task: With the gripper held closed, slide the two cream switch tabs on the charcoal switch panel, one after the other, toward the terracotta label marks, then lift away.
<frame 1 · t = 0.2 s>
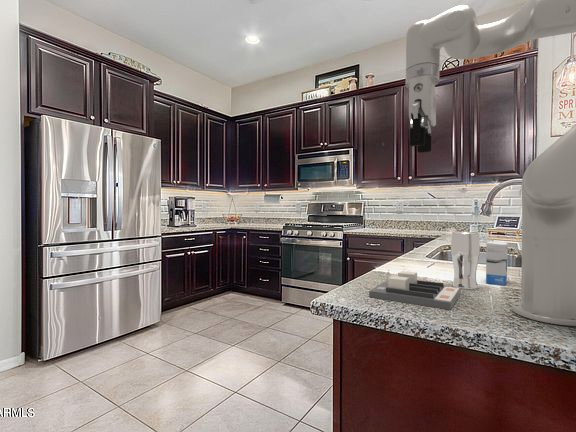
hand: (420, 148, 77), 36 cm above the counter, tool pointing down, fingers open, 9 cm apart
tab b: (407, 278, 85), point 3 cm above the counter, slide at 6.0 cm
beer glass: (464, 287, 88), on the counter
switch panel: (415, 295, 80), on the counter
tab a: (398, 284, 78), point 3 cm above the counter, slide at 6.0 cm
ink box: (496, 282, 94), on the counter
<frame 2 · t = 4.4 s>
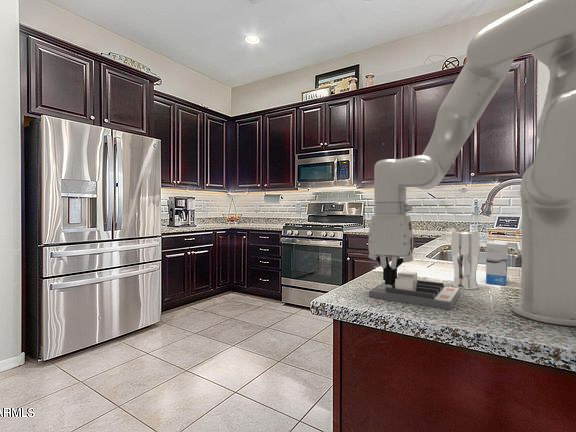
hand: (390, 283, 79), 3 cm above the counter, tool pointing down, fingers closed
tab a: (405, 284, 77), point 3 cm above the counter, slide at 4.3 cm, touching gripper
everything else where it was.
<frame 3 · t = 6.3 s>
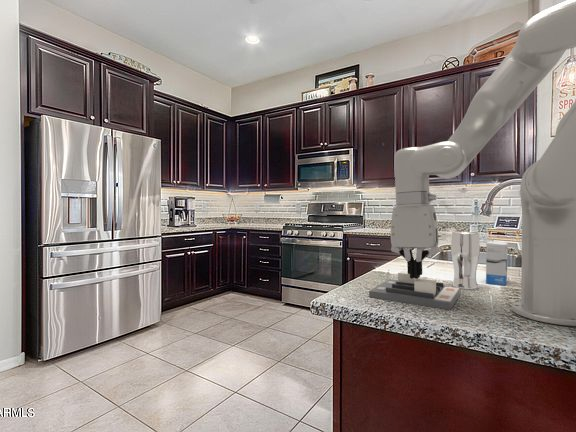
hand: (415, 277, 76), 5 cm above the counter, tool pointing down, fingers closed
tab a: (425, 287, 75), point 3 cm above the counter, slide at -0.1 cm
everything else where it was.
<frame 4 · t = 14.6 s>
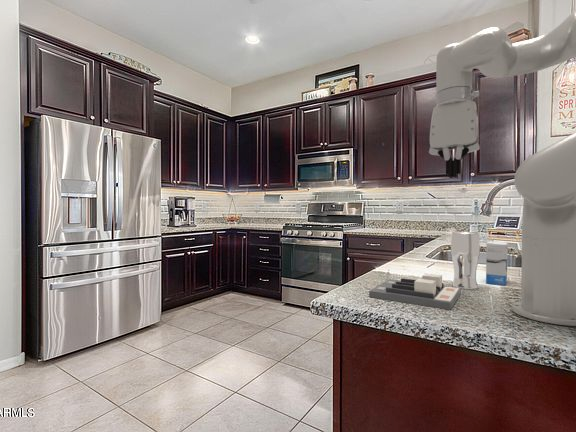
hand: (453, 177, 76), 29 cm above the counter, tool pointing down, fingers closed
tab b: (432, 281, 81), point 3 cm above the counter, slide at -0.1 cm
everything else where it was.
at the end: tab a slide at -0.1 cm; tab b slide at -0.1 cm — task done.
